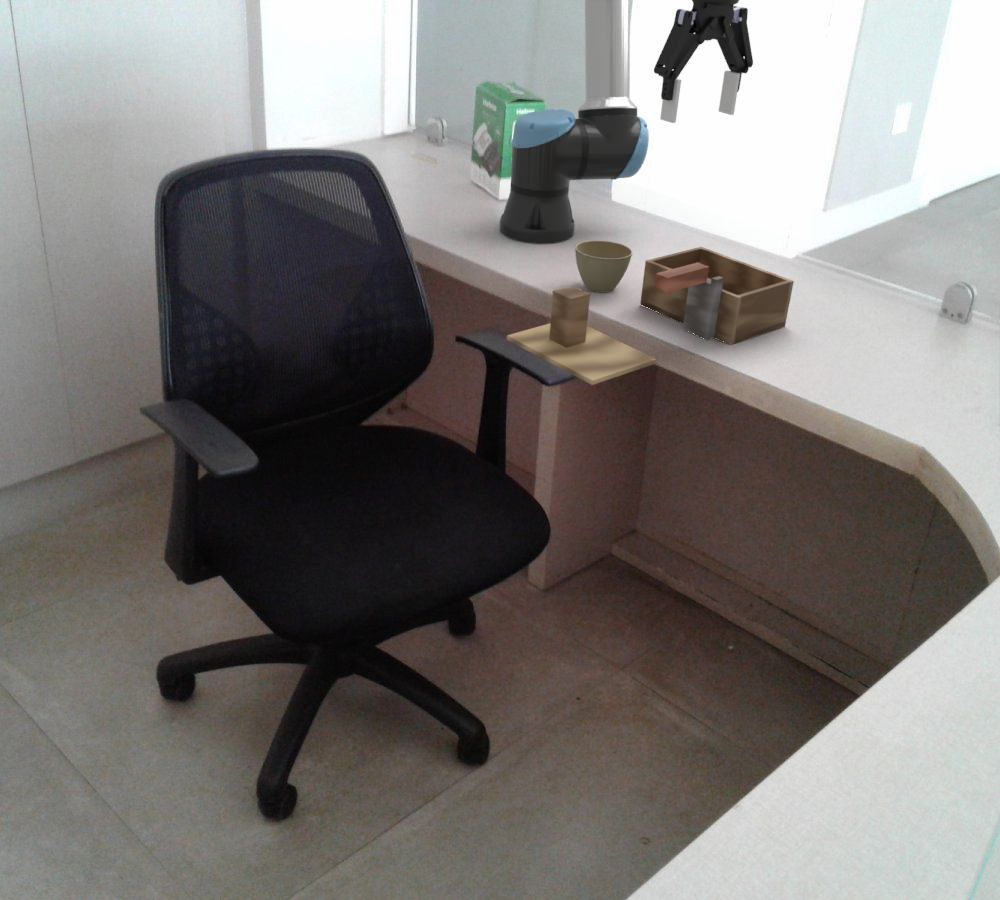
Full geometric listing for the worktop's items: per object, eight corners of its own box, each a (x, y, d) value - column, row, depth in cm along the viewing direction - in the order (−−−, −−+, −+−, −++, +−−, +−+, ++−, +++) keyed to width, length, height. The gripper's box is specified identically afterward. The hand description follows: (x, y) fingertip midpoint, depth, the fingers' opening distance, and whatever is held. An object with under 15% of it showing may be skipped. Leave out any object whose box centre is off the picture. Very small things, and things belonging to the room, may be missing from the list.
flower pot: (619, 301, 181) (624, 262, 178) (564, 291, 184) (568, 252, 180) (634, 283, 189) (638, 245, 186) (581, 274, 192) (584, 236, 189)
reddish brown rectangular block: (654, 288, 160) (656, 273, 159) (695, 277, 166) (697, 262, 164) (665, 293, 159) (667, 277, 157) (706, 281, 164) (709, 266, 163)
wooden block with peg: (506, 342, 165) (509, 287, 160) (569, 324, 172) (573, 271, 168) (591, 388, 152) (597, 329, 147) (655, 366, 160) (662, 309, 155)
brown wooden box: (632, 307, 179) (639, 249, 174) (694, 289, 188) (702, 234, 183) (722, 347, 166) (733, 286, 161) (784, 326, 175) (796, 268, 170)
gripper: (677, -21, 150) (659, 129, 161) (790, -25, 164) (766, 114, 175) (641, -27, 156) (625, 119, 166) (753, -30, 169) (732, 105, 180)
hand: (697, 117), depth 170 cm, fingers open, 13 cm apart
